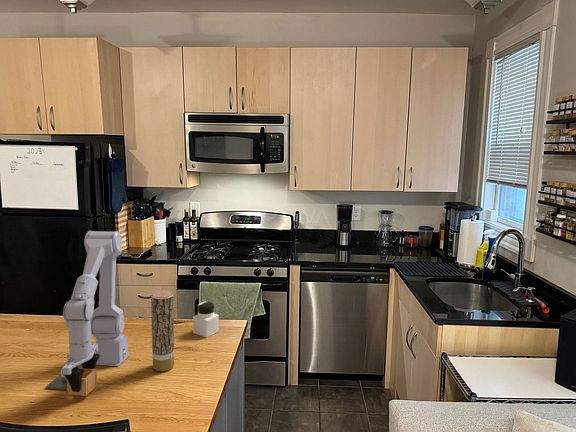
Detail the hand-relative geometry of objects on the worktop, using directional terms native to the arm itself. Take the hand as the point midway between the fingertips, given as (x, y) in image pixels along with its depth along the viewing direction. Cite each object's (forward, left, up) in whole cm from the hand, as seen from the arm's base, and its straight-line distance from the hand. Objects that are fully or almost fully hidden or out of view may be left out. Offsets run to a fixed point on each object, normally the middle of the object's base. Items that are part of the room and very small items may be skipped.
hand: (82, 385), depth 122 cm
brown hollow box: (0, 0, -1) cm, 1 cm away
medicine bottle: (-23, -46, -3) cm, 51 cm away
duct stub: (+8, -5, -3) cm, 10 cm away
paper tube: (-17, -18, -3) cm, 25 cm away
